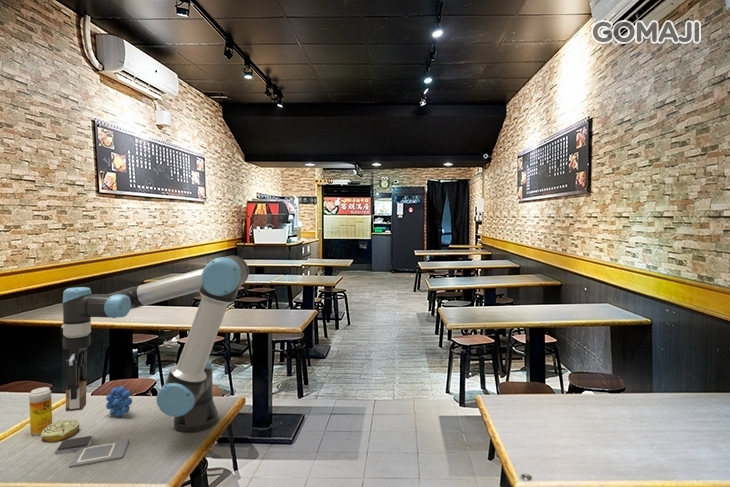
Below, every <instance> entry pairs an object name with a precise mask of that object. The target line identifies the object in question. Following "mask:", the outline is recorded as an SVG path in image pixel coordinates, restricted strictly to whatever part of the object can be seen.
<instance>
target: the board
mask: <svg viewBox="0 0 730 487" xmlns="http://www.w3.org/2000/svg"><path fill="white" fill-rule="evenodd" d="M129 443H130V440H129V439H126V440H120V441H119V440H118V441H112V442H107V443H101V444H95V445H90V446H89V447H86V448H80V449H79V450H78V451H76V454H75V455H74V457H73V459H72V461H71V462H70V464H69V466H68V467H69V468H76V467H83V466H87V465H88V466H89V465H92V464H99V463H105V462H110V461H116V460H122V459H123V458H124V456H125V453H126V451H127V449H128V445H129Z"/></svg>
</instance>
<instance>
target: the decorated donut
mask: <svg viewBox="0 0 730 487" xmlns="http://www.w3.org/2000/svg"><path fill="white" fill-rule="evenodd" d="M79 429H80V422H79V420H76V419H65V420H64V419H63V420H57V421H55V422H52V424H50V425H48V426H47V427H46V428H44V429H43V431H42V433H41V435H40V438H41V439H43V440H44V441H46V442H48V443H49V442H50V443H55V442H59V441H63V440H66V439H69V438H70V437H72V436H73V435H75V434H76V433H77V432H78V430H79Z"/></svg>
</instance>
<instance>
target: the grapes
mask: <svg viewBox="0 0 730 487" xmlns="http://www.w3.org/2000/svg"><path fill="white" fill-rule="evenodd" d="M130 396H131V391H130V390H129V389H126V388H125V386H123V385H120V386H118V387H116V386H115V387H112V389H111V390H110V392H109V393H108V394H107V395H106V397H105V400H106V401H107V403H105V408H106V409H107V410H109V414H110V416H116V417H118V418H121V417H123V415H124V414H127V413H128V412H129V411H130V408H131V407H130V406H131V404H133V399H132V398H131V397H130Z"/></svg>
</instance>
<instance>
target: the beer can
mask: <svg viewBox="0 0 730 487" xmlns="http://www.w3.org/2000/svg"><path fill="white" fill-rule="evenodd" d="M28 396H29V397H28V398H29V421H30V422H29V424H30V434H32V435H33V436H41V433H42V431H43V429H44V428H46V427H47V426H48V425H50V424H52V423H53V411H52V410H53V408H52V406H53V404H52V403H53V402H52V390H51V389H50V387H47V386H44V387H43V386H42V387H38V388H35V389H32V390H31V391H30V392H29V395H28Z"/></svg>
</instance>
